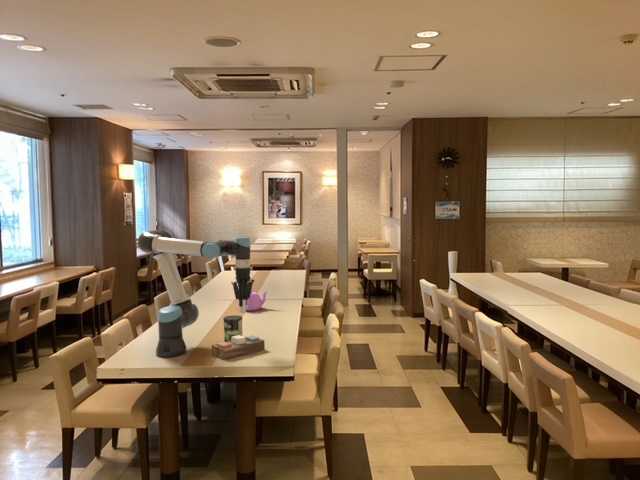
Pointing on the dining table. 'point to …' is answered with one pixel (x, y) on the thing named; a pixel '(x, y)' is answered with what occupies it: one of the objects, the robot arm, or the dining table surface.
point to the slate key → (251, 338)
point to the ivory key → (238, 339)
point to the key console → (238, 349)
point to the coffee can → (232, 327)
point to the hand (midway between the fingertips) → (242, 312)
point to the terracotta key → (223, 345)
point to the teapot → (255, 301)
